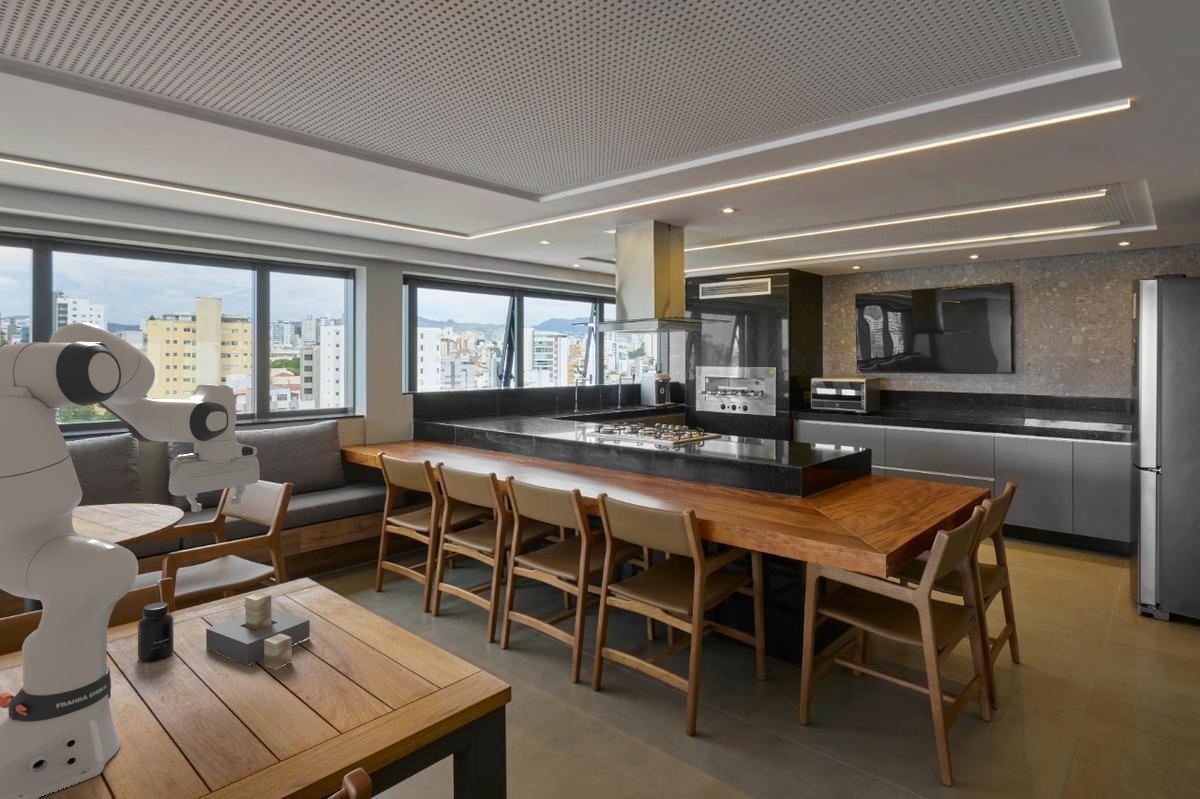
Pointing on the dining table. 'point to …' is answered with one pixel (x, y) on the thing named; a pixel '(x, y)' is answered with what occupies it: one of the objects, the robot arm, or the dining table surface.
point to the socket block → (254, 636)
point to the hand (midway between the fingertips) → (216, 507)
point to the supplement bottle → (155, 633)
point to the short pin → (277, 650)
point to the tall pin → (258, 611)
